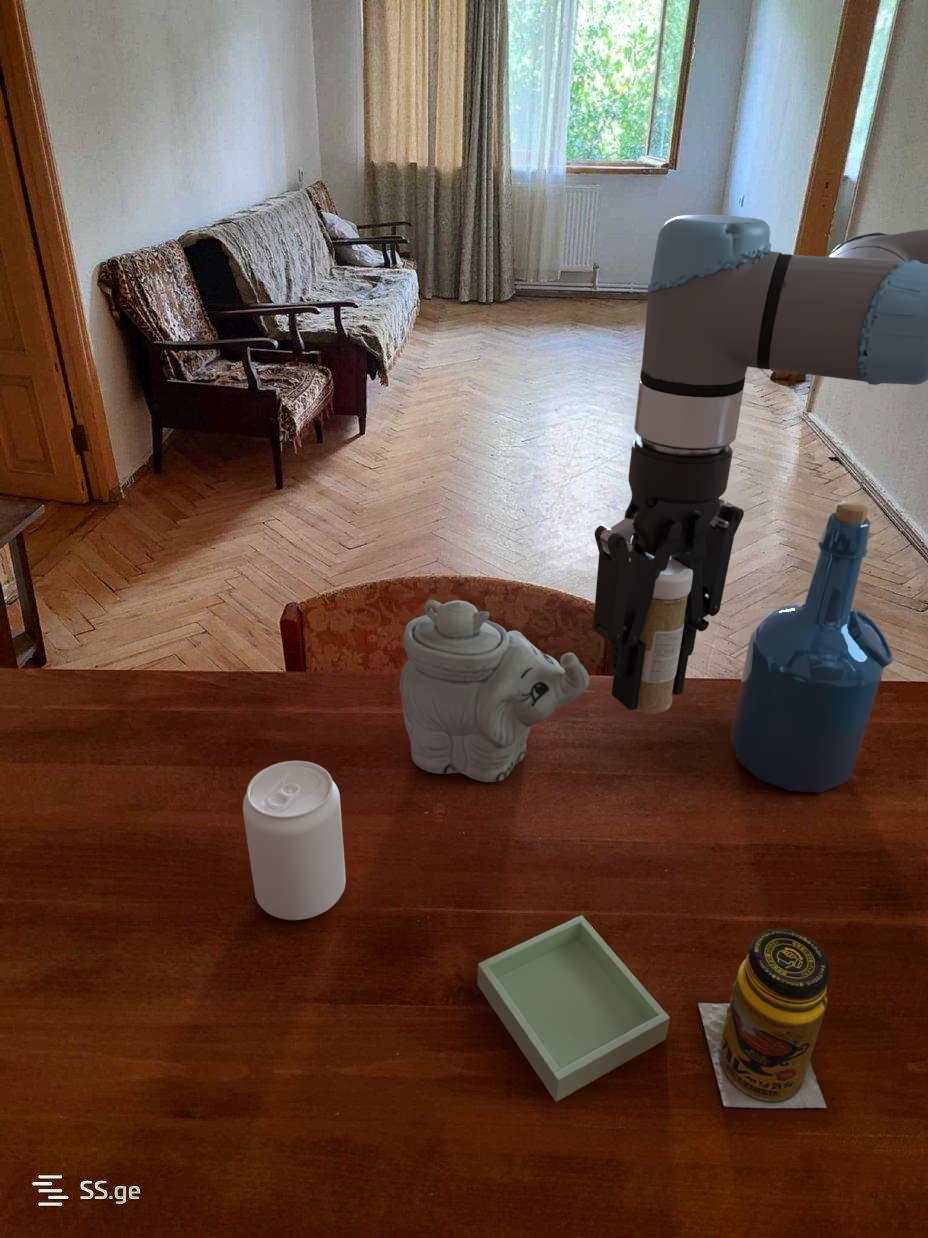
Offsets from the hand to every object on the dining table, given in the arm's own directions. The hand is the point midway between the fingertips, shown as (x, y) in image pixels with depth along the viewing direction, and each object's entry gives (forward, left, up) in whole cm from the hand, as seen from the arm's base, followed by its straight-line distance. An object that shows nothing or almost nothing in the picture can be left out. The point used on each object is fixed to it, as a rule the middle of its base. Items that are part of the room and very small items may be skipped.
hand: (647, 693), depth 78 cm
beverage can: (+8, +31, -17) cm, 36 cm away
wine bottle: (+1, -23, -17) cm, 29 cm away
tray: (-13, +17, -17) cm, 27 cm away
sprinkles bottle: (0, 0, -1) cm, 1 cm away
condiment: (-23, +6, -17) cm, 30 cm away
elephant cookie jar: (+16, +6, -17) cm, 24 cm away
